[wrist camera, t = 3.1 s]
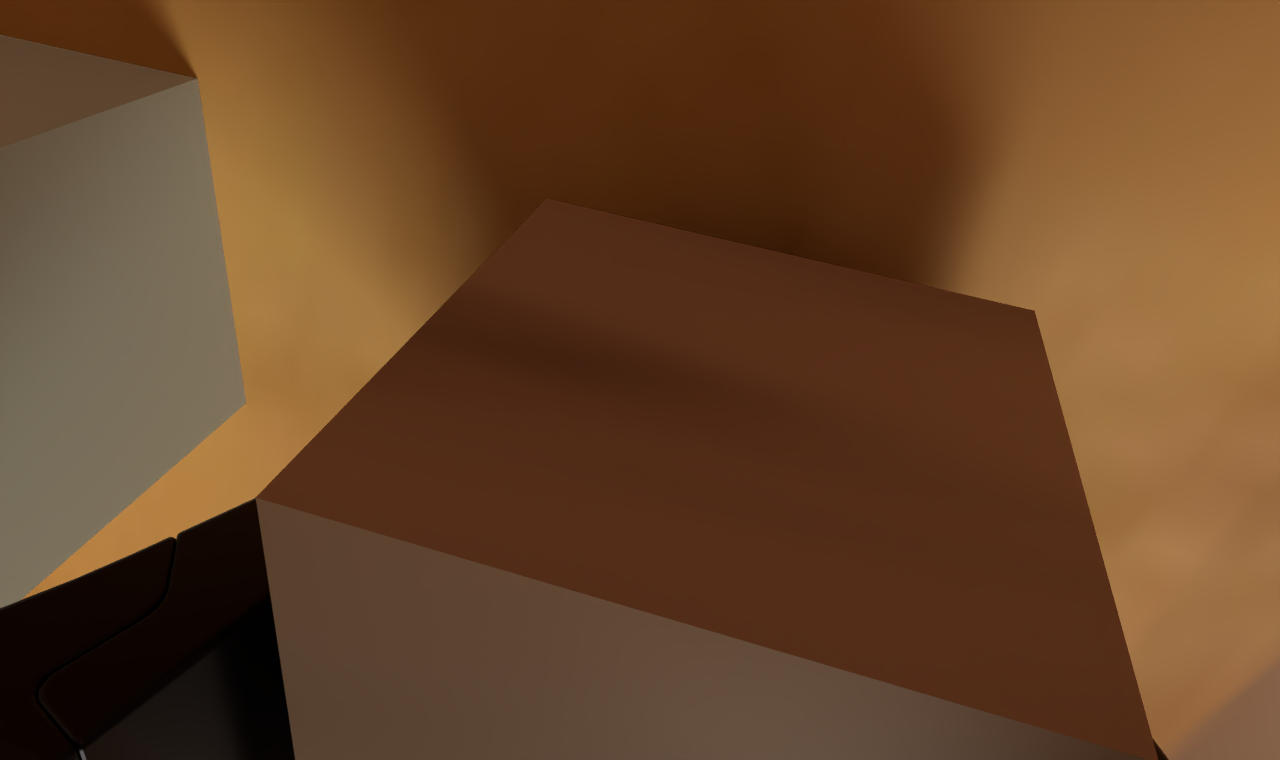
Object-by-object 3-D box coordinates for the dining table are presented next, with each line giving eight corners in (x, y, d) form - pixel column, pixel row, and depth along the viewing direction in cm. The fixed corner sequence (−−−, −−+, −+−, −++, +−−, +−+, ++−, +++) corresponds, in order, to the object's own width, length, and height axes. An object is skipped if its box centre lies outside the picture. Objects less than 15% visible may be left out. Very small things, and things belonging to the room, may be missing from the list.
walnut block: (885, 646, 11) (876, 1115, 7) (519, 541, 12) (319, 914, 8) (1034, 310, 8) (1159, 763, 4) (546, 198, 9) (254, 498, 5)
